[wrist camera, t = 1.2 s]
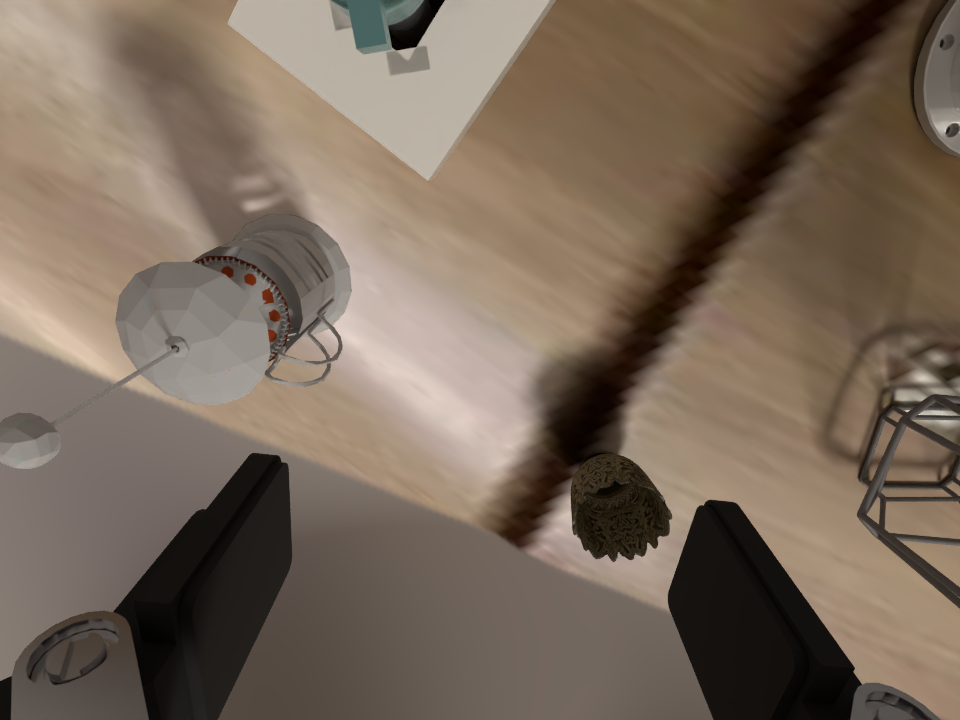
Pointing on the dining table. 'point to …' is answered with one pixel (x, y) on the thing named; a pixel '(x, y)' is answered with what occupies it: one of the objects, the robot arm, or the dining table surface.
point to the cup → (616, 507)
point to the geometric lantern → (878, 480)
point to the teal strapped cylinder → (386, 22)
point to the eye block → (398, 67)
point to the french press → (215, 322)
